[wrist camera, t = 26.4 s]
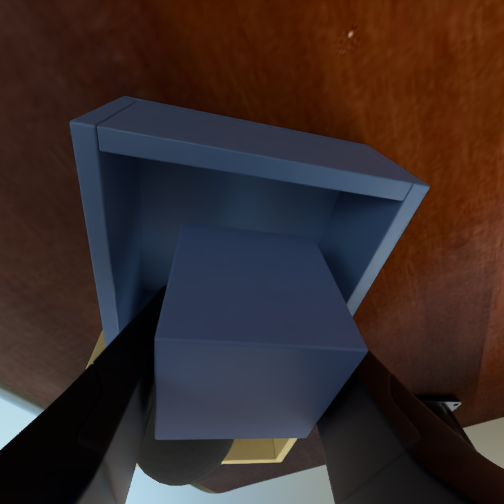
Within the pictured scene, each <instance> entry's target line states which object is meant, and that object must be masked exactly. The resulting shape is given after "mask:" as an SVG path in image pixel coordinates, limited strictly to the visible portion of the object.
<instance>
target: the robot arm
mask: <svg viewBox="0 0 504 504" xmlns="http://www.w3.org/2000/svg"><path fill="white" fill-rule="evenodd" d="M166 288H167V285H163V286H162V287H161V288H160V289H159V290H158V292H157V293H156V294H155V295H154V296H153V297H152V298H151V299H150V300H149V301H148V302H147V304H146V305H145V306H144V307H143V308H142V309H141V310H140V311H139V312H138V313H137V314H136V315H135V317H134V318H133V319H132V320H131V321H130V322H129V323H128V324H127V325H126V326H125V327H124V329H123V330H122V331H121V332H120V333H119V334H118V335H117V336H116V337H115V338H114V339H113V340H112V342H111V343H110V344H109V345H108V346H107V347H106V348H105V349H104V350H103V351H102V352H101V353H100V355H99V356H98V357H97V358H96V359H95V360H94V361H93V364H90V365H89V366H88V367H87V369H86V370H85V371H84V372H83V373H82V374H81V375H80V376H79V377H78V378H77V379H76V380H75V381H74V382H73V383H72V384H71V385H70V386H69V387H68V388H67V390H66V391H65V392H64V393H62V394H61V395H60V396H59V397H58V398H57V399H56V400H55V401H54V402H53V403H52V404H51V405H50V406H49V407H48V408H46V409H45V410H44V411H43V412H42V413H41V414H40V415H39V416H38V417H37V418H36V419H34V420H33V421H32V422H31V423H30V424H29V425H28V426H27V427H25V428H24V429H23V430H22V431H21V432H20V433H19V434H18V435H17V436H16V437H14V438H13V439H12V440H11V441H10V442H9V443H8V444H7V445H6V446H4V447H3V448H2V449H1V450H0V504H125V502H126V498H127V495H128V491H129V488H130V484H131V481H132V477H133V474H134V470H135V467H136V463H137V460H138V456H139V453H140V449H141V446H142V442H143V439H144V435H145V432H146V428H147V425H148V421H149V418H150V414H151V411H152V407H153V404H154V400H155V377H154V339H155V334H156V330H157V326H158V322H159V318H160V313H161V309H162V305H163V301H164V297H165V292H166ZM460 405H461V402H460V400H459V399H458V398H436V397H415V396H414V395H413V394H412V393H411V392H410V391H409V390H408V389H407V388H406V387H405V386H404V385H403V384H402V383H401V382H400V381H399V380H398V379H397V378H396V377H395V376H394V375H393V374H391V372H390V371H389V370H388V369H387V368H386V367H385V366H384V365H383V364H382V363H381V362H380V361H379V360H378V359H377V358H376V357H375V356H374V355H373V354H372V353H371V352H370V351H369V350H368V352H367V354H366V355H365V357H364V358H363V359H362V361H361V362H360V364H359V365H358V366H357V368H356V369H355V371H354V372H353V373H352V375H351V376H350V377H349V379H348V380H347V382H346V383H345V384H344V386H343V387H342V389H341V390H340V391H339V393H338V394H337V396H336V397H335V398H334V400H333V401H332V402H331V404H330V405H329V407H328V408H327V409H326V411H325V412H324V414H323V415H322V416H321V418H320V419H319V421H318V422H317V426H318V431H319V435H320V440H321V444H322V449H323V453H324V458H325V462H326V466H327V471H328V475H329V480H330V484H331V489H332V493H333V497H334V502H335V504H504V469H503V468H501V467H499V466H497V465H496V464H494V463H493V462H491V461H489V460H488V459H487V458H485V457H484V456H482V455H481V454H480V453H479V452H477V451H476V449H475V448H474V446H473V444H472V443H471V441H470V440H469V438H468V437H467V435H466V433H465V432H464V430H463V428H462V427H461V425H460V424H459V422H458V421H457V419H456V417H455V416H454V414H453V413H452V411H453V410H454V409H456V408H457V407H458V406H460Z"/></svg>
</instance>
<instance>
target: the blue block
mask: <svg viewBox="0 0 504 504" xmlns="http://www.w3.org/2000/svg"><path fill="white" fill-rule="evenodd" d="M367 352H368V348H367V346H366V344H365V342H364V340H363V338H362V336H361V334H360V332H359V330H358V328H357V325H356V323H355V321H354V319H353V317H352V315H351V313H350V311H349V309H348V307H347V305H346V303H345V301H344V299H343V297H342V295H341V292H340V290H339V288H338V286H337V284H336V282H335V280H334V278H333V276H332V274H331V272H330V270H329V268H328V266H327V264H326V262H325V259H324V257H323V255H322V253H321V251H320V249H319V247H318V245H317V243H316V241H315V239H313V238H307V237H299V236H291V235H283V234H275V233H268V232H260V231H252V230H244V229H236V228H229V227H221V226H213V225H205V224H197V223H190V222H183V223H182V225H181V230H180V234H179V238H178V242H177V246H176V250H175V255H174V259H173V263H172V267H171V271H170V276H169V280H168V284H167V288H166V292H165V297H164V301H163V305H162V309H161V313H160V318H159V322H158V326H157V330H156V334H155V339H154V377H155V439H156V440H187V439H271V438H306V437H307V436H308V434H309V433H310V432H311V430H312V429H313V428H314V426H315V425H316V423H317V422H318V421H319V419H320V418H321V416H322V415H323V414H324V412H325V411H326V409H327V408H328V407H329V405H330V404H331V402H332V401H333V400H334V398H335V397H336V396H337V394H338V393H339V391H340V390H341V389H342V387H343V386H344V384H345V383H346V382H347V380H348V379H349V377H350V376H351V375H352V373H353V372H354V371H355V369H356V368H357V366H358V365H359V364H360V362H361V361H362V359H363V358H364V357H365V355H366V354H367Z"/></svg>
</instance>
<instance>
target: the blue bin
mask: <svg viewBox="0 0 504 504" xmlns="http://www.w3.org/2000/svg"><path fill="white" fill-rule="evenodd" d="M69 124H70V130H71V136H72V142H73V148H74V154H75V161H76V167H77V173H78V179H79V185H80V191H81V197H82V204H83V210H84V216H85V222H86V228H87V234H88V240H89V247H90V253H91V259H92V265H93V271H94V277H95V283H96V290H97V296H98V302H99V308H100V314H101V320H102V326H103V332H104V339H105V345H106V347H107V346H108V345H109V344H110V343H111V342H112V340H113V339H114V338H115V337H116V336H117V335H118V334H119V333H120V332H121V331H122V330H123V329H124V327H125V326H126V325H127V324H128V323H129V322H130V321H131V320H132V319H133V318H134V317H135V315H136V314H137V313H138V312H139V311H140V310H141V309H142V308H143V307H144V306H145V305H146V304H147V302H148V301H149V300H150V299H151V298H152V297H153V296H154V295H155V294H156V293H157V292H158V290H159V289H160V288H161V287H162V286H163V285H167V284H168V280H169V276H170V271H171V267H172V263H173V259H174V255H175V250H176V246H177V242H178V238H179V234H180V230H181V225H182V223H183V222H190V223H197V224H205V225H213V226H221V227H229V228H236V229H244V230H252V231H260V232H268V233H275V234H283V235H291V236H299V237H307V238H313V239H315V241H316V243H317V245H318V247H319V249H320V251H321V253H322V255H323V257H324V259H325V262H326V264H327V266H328V268H329V270H330V272H331V274H332V276H333V278H334V280H335V282H336V284H337V286H338V288H339V290H340V292H341V295H342V297H343V299H344V301H345V303H346V305H347V307H348V309H349V311H350V313H351V315H352V316H353V315H354V313H355V311H356V310H357V308H358V306H359V305H360V303H361V301H362V300H363V298H364V296H365V295H366V293H367V291H368V290H369V288H370V286H371V285H372V283H373V281H374V280H375V278H376V276H377V275H378V273H379V271H380V270H381V268H382V266H383V265H384V263H385V261H386V260H387V258H388V256H389V255H390V253H391V251H392V250H393V248H394V246H395V245H396V243H397V241H398V240H399V238H400V236H401V235H402V233H403V231H404V230H405V228H406V226H407V225H408V223H409V221H410V220H411V218H412V216H413V215H414V213H415V211H416V210H417V208H418V206H419V205H420V203H421V201H422V200H423V198H424V196H425V194H426V193H427V191H428V189H429V188H430V186H429V185H428V184H426V183H425V182H423V181H422V180H420V179H419V178H417V177H415V176H414V175H412V174H411V173H409V172H408V171H406V170H405V169H403V168H402V167H400V166H399V165H397V164H396V163H394V162H393V161H391V160H390V159H388V158H386V157H385V156H383V155H382V154H380V153H379V152H377V151H376V150H374V149H373V148H371V147H370V146H368V145H365V144H360V143H355V142H350V141H345V140H341V139H336V138H331V137H326V136H321V135H316V134H311V133H306V132H301V131H296V130H291V129H286V128H281V127H276V126H271V125H266V124H262V123H257V122H252V121H247V120H242V119H237V118H232V117H227V116H222V115H217V114H212V113H207V112H202V111H197V110H192V109H188V108H183V107H178V106H173V105H168V104H163V103H158V102H153V101H148V100H143V99H138V98H133V97H128V96H122V97H121V98H118V99H116V100H114V101H112V102H110V103H108V104H106V105H103V106H101V107H99V108H97V109H95V110H93V111H90V112H88V113H86V114H84V115H82V116H80V117H78V118H75V119H73V120H71V121H70V123H69Z"/></svg>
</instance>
